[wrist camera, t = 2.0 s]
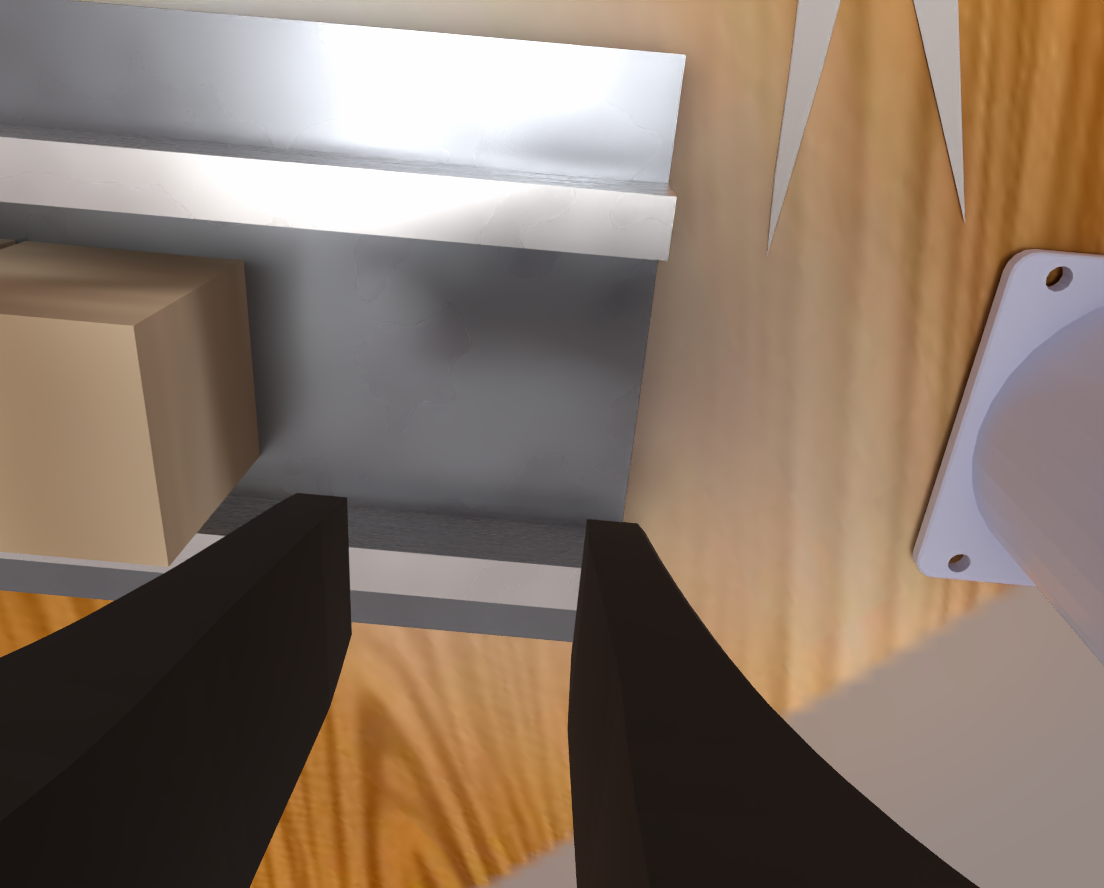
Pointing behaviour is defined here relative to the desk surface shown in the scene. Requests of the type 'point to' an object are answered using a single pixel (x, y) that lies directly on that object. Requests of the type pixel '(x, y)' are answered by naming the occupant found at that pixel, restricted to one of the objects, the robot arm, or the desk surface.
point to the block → (120, 399)
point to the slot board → (376, 273)
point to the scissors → (806, 64)
